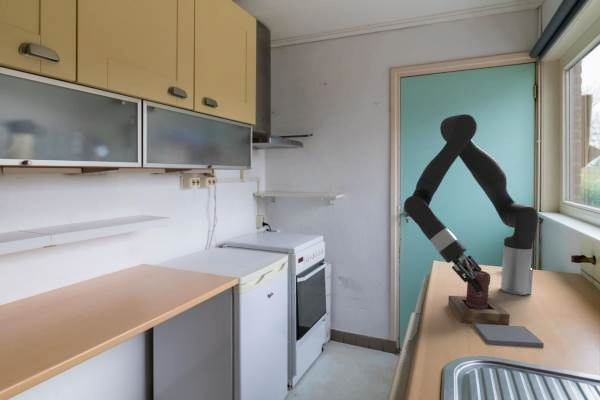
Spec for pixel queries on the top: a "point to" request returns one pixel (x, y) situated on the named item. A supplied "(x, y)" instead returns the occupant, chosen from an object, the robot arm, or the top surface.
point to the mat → (508, 335)
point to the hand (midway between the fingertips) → (484, 287)
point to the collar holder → (478, 312)
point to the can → (478, 298)
